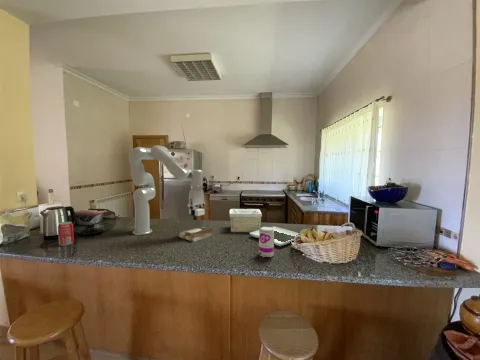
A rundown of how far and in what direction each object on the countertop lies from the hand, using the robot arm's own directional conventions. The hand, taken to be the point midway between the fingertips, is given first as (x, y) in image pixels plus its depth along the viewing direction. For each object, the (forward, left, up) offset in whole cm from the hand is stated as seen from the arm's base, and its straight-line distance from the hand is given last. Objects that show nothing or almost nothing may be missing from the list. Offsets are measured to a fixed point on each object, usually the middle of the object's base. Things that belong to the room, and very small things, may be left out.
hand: (196, 214), depth 151 cm
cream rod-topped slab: (0, 0, -1) cm, 1 cm away
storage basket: (+15, +35, -16) cm, 41 cm away
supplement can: (+52, +4, -16) cm, 55 cm away
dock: (-2, 0, -15) cm, 15 cm away
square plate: (+43, +33, -16) cm, 57 cm away
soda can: (-48, -60, -16) cm, 78 cm away
